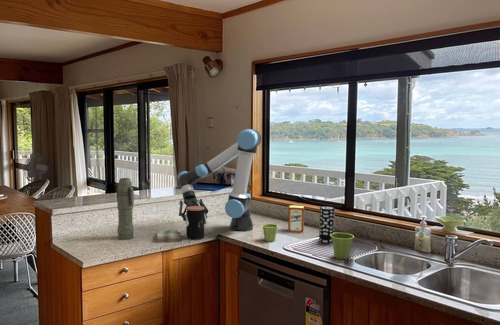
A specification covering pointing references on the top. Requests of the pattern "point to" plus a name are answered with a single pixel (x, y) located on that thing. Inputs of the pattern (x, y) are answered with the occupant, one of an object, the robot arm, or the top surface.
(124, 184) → the thermos
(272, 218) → the top surface
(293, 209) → the baking soda box
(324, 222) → the spotted tube
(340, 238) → the plant pot
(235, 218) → the robot arm
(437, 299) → the top surface
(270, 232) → the plant pot
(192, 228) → the coffee jar
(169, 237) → the plinth
